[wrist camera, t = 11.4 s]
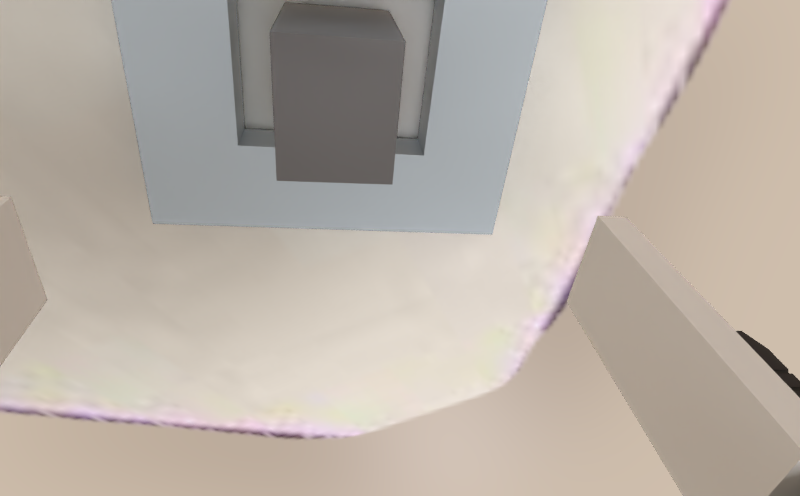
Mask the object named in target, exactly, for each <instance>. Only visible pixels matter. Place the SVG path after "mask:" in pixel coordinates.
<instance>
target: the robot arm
mask: <svg viewBox="0 0 800 496" xmlns="http://www.w3.org/2000/svg"><path fill="white" fill-rule="evenodd" d="M46 301H47V298H46V295H45V292H44V289H43V286H42V283H41V280H40V278H39V275H38V272H37V269H36V266H35V263H34V261H33V258H32V255H31V252H30V249H29V246H28V244H27V241H26V238H25V235H24V232H23V229H22V227H21V224H20V221H19V218H18V215H17V212H16V209H15V207H14V204H13V201H12V198H11V197H5V196H0V366H1V365H2V363H3V362H4V360H5V359H6V358H7V356H8V355H9V353H10V352H11V350H12V349H13V348H14V346H15V345H16V343H17V342H18V341H19V339H20V338H21V336H22V335H23V334H24V332H25V331H26V329H27V328H28V326H29V325H30V324H31V322H32V321H33V319H34V318H35V317H36V315H37V314H38V312H39V311H40V310H41V308H42V307H43V305H44V304H45V303H46ZM567 304H568V305H569V307H570V309H571V310H572V312H573V314H574V315H575V317H576V319H577V320H578V322H579V324H580V325H581V327H582V329H583V330H584V332H585V334H586V335H587V337H588V338H589V340H590V342H591V344H592V345H593V347H594V349H595V350H596V352H597V353H598V355H599V357H600V358H601V360H602V362H603V363H604V365H605V367H606V369H607V370H608V372H609V373H610V375H611V377H612V379H613V380H614V382H615V384H616V385H617V387H618V389H619V390H620V392H621V393H622V395H623V397H624V399H625V400H626V402H627V403H628V405H629V407H630V408H631V410H632V412H633V413H634V415H635V417H636V418H637V420H638V422H639V423H640V425H641V427H642V428H643V430H644V432H645V433H646V435H647V437H648V438H649V440H650V442H651V443H652V445H653V447H654V448H655V450H656V452H657V453H658V455H659V457H660V458H661V460H662V462H663V463H664V465H665V467H666V468H667V470H668V472H669V473H670V475H671V477H672V478H673V480H674V482H675V483H676V485H677V487H678V488H679V490H680V492H681V493H682V495H683V496H800V381H799V380H798V379H797V378H796V377H795V376H794V375H793V374H789V373H788V369H787V368H786V367H785V366H784V365H783V364H782V363H781V362H780V361H779V360H778V359H777V358H776V357H775V356H774V355H773V353H772V352H771V351H770V350H769V349H767V348H766V347H764V346H763V345H761V344H760V343H758V342H757V341H755V340H754V339H753V338H751V337H749V336H748V335H747V334H745V333H744V332H742V331H735V330H734V329H733V328H732V327H731V326H730V325H729V324H728V322H727V321H726V320H725V319H724V318H723V317H722V316H721V315H720V314H719V313H718V312H717V311H716V310H715V309H714V308H713V307H712V306H711V305H710V304H709V303H708V302H707V301H706V300H705V298H704V297H703V296H702V295H701V294H700V293H699V292H698V291H697V290H696V289H695V288H694V287H693V286H692V285H691V284H690V283H689V282H688V281H687V280H686V279H685V278H684V277H683V275H682V274H681V273H679V271H678V270H677V269H676V268H675V267H674V266H673V265H672V264H671V263H670V262H669V261H668V260H667V259H666V258H665V257H664V256H663V255H662V254H661V253H660V252H659V250H658V249H657V248H656V247H655V246H654V245H653V244H652V243H651V242H650V241H649V240H648V239H647V238H646V237H645V236H644V235H643V234H642V233H641V232H640V231H639V230H638V228H637V227H636V226H635V225H634V224H633V223H632V222H631V221H630V220H629V219H628V218H627V217H614V216H598V217H597V220H596V223H595V225H594V228H593V231H592V234H591V237H590V239H589V242H588V245H587V248H586V250H585V253H584V256H583V259H582V261H581V264H580V267H579V270H578V272H577V275H576V278H575V281H574V283H573V286H572V289H571V292H570V294H569V297H568V300H567Z"/></svg>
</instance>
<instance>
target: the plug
mask: <svg viewBox="0 0 800 496" xmlns="http://www.w3.org/2000/svg"><path fill="white" fill-rule="evenodd" d="M270 49H271V71H272V93H273V114H274V136H275V157H276V179H277V181H297V182H327V183H357V184H388V185H392V184H393V173H394V162H395V151H396V140H397V129H398V118H399V107H400V96H401V85H402V74H403V63H404V51H405V40H404V38H403V36H402V34H401V32H400V30H399V29H398V27H397V25H396V23H395V21H394V19H393V17H392V15H391V14H390V12H389V11H387V10H375V9H362V8H350V7H338V6H325V5H313V4H300V3H288V2H285V3H284V5H283V7H282V9H281V11H280V13H279V15H278V17H277V18H276V20H275V22H274V24H273V26H272V28H271V30H270Z"/></svg>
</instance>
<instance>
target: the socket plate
mask: <svg viewBox="0 0 800 496" xmlns="http://www.w3.org/2000/svg"><path fill="white" fill-rule="evenodd" d="M111 1H112V7H113V12H114V18H115V23H116V28H117V34H118V39H119V44H120V50H121V55H122V61H123V66H124V71H125V77H126V82H127V87H128V93H129V98H130V104H131V109H132V114H133V120H134V125H135V130H136V136H137V141H138V147H139V152H140V157H141V163H142V168H143V173H144V179H145V184H146V190H147V195H148V200H149V206H150V211H151V217H152V222H153V224H179V225H210V226H242V227H273V228H305V229H336V230H367V231H399V232H430V233H461V234H492V233H493V229H494V225H495V220H496V216H497V212H498V208H499V203H500V199H501V195H502V191H503V187H504V182H505V178H506V174H507V170H508V165H509V161H510V157H511V153H512V148H513V144H514V140H515V136H516V131H517V127H518V123H519V119H520V114H521V110H522V106H523V102H524V98H525V93H526V89H527V85H528V81H529V76H530V72H531V68H532V64H533V59H534V55H535V51H536V47H537V42H538V38H539V34H540V30H541V25H542V21H543V17H544V13H545V9H546V4H547V0H435V7H434V15H433V22H432V30H431V38H430V46H429V54H428V62H427V69H426V77H425V85H424V93H423V101H422V109H421V117H420V124H419V132H418V139H413V138H397V140H396V151H395V162H394V173H393V184H392V185H388V184H357V183H327V182H297V181H277V179H276V157H275V136H274V130H260V129H245V125H244V109H243V94H242V78H241V63H240V47H239V32H238V17H237V1H236V0H111Z"/></svg>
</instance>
